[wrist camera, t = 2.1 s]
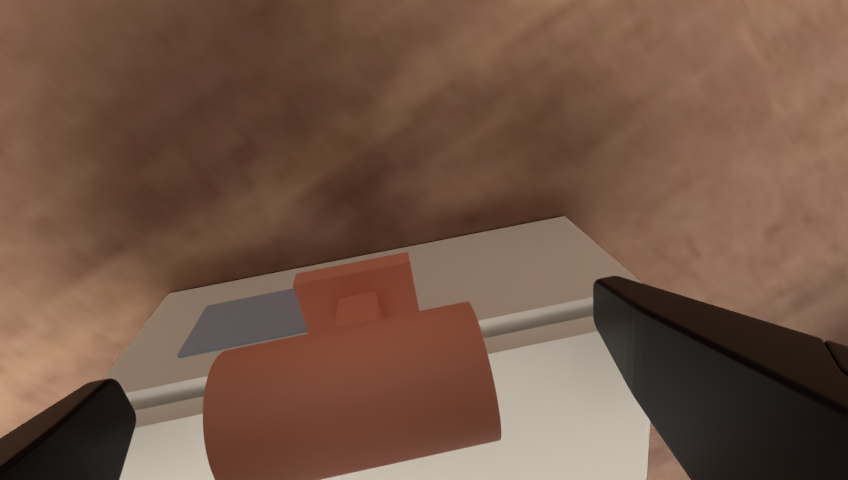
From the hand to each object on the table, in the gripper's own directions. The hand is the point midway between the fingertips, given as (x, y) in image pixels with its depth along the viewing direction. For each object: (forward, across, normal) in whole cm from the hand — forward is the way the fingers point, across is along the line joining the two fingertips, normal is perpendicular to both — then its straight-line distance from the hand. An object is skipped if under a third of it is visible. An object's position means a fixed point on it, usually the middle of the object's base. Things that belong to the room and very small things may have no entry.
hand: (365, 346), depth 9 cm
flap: (+2, 0, +4) cm, 4 cm away
